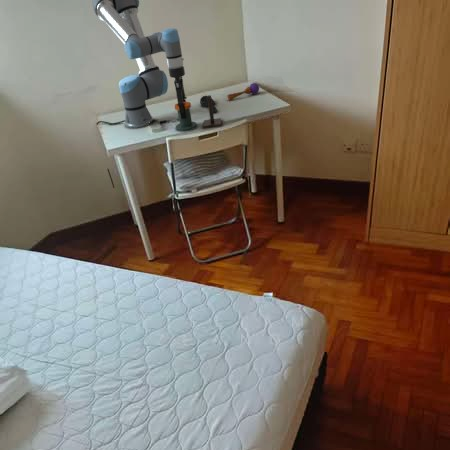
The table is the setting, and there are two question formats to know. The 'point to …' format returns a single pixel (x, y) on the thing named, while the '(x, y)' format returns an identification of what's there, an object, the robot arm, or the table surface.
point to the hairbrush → (205, 103)
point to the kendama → (245, 91)
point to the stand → (186, 122)
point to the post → (211, 116)
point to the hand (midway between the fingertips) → (184, 115)
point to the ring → (186, 104)
